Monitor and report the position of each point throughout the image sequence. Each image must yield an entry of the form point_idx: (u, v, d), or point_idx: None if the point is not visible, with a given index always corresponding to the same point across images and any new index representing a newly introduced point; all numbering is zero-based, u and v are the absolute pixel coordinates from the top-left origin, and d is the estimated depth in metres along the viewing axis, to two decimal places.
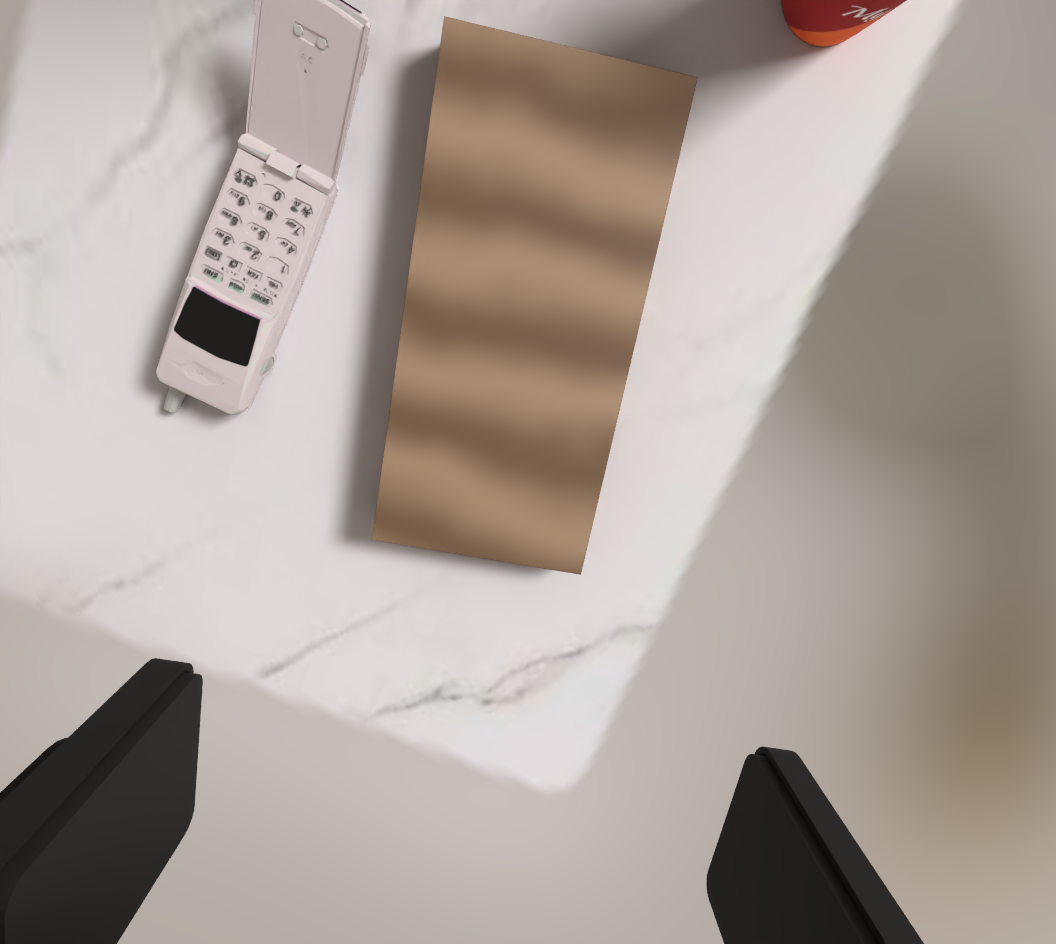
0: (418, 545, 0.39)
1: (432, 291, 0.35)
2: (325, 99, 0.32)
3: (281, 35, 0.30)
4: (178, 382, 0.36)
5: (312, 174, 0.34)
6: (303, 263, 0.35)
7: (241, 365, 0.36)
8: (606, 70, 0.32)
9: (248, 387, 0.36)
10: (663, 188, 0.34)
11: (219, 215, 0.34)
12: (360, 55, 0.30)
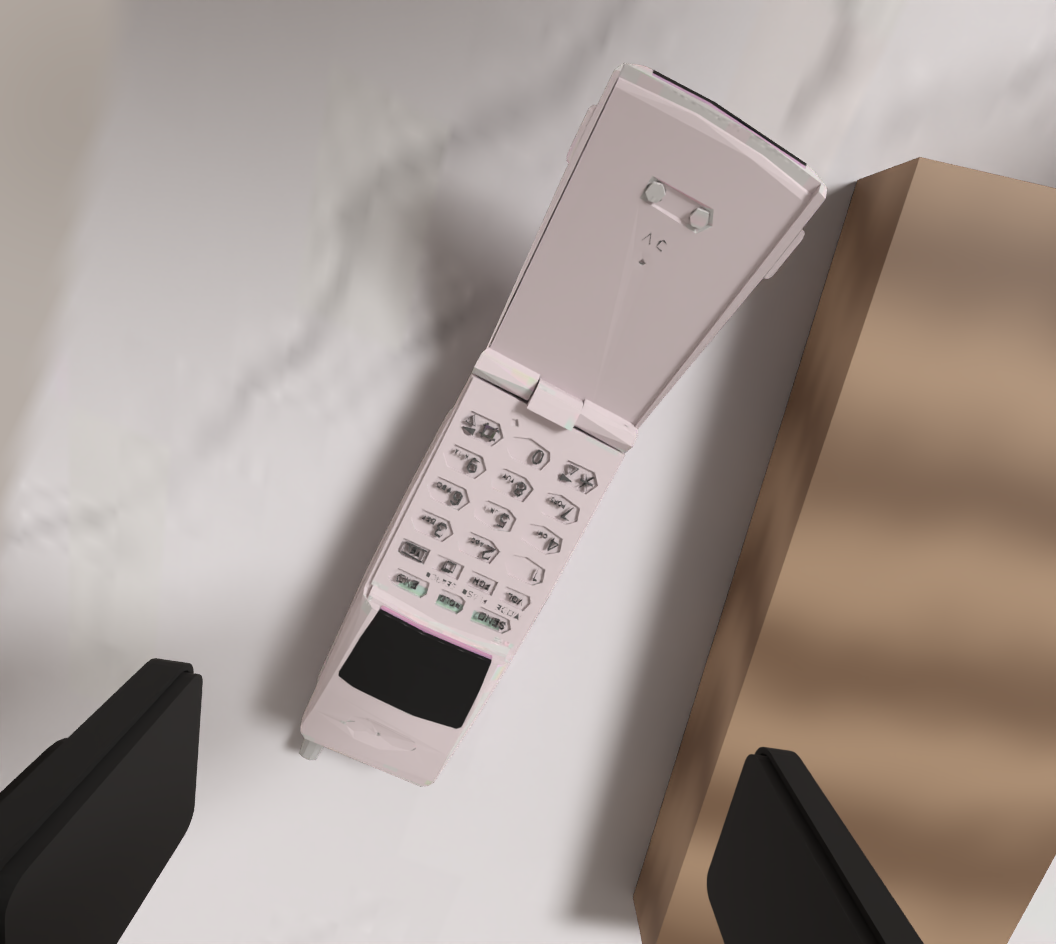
0: None
1: (809, 622, 0.20)
2: (667, 309, 0.16)
3: (613, 199, 0.15)
4: (336, 743, 0.21)
5: (602, 420, 0.18)
6: (567, 561, 0.20)
7: (450, 726, 0.21)
8: None
9: (454, 750, 0.21)
10: None
11: (429, 488, 0.19)
12: (776, 241, 0.15)
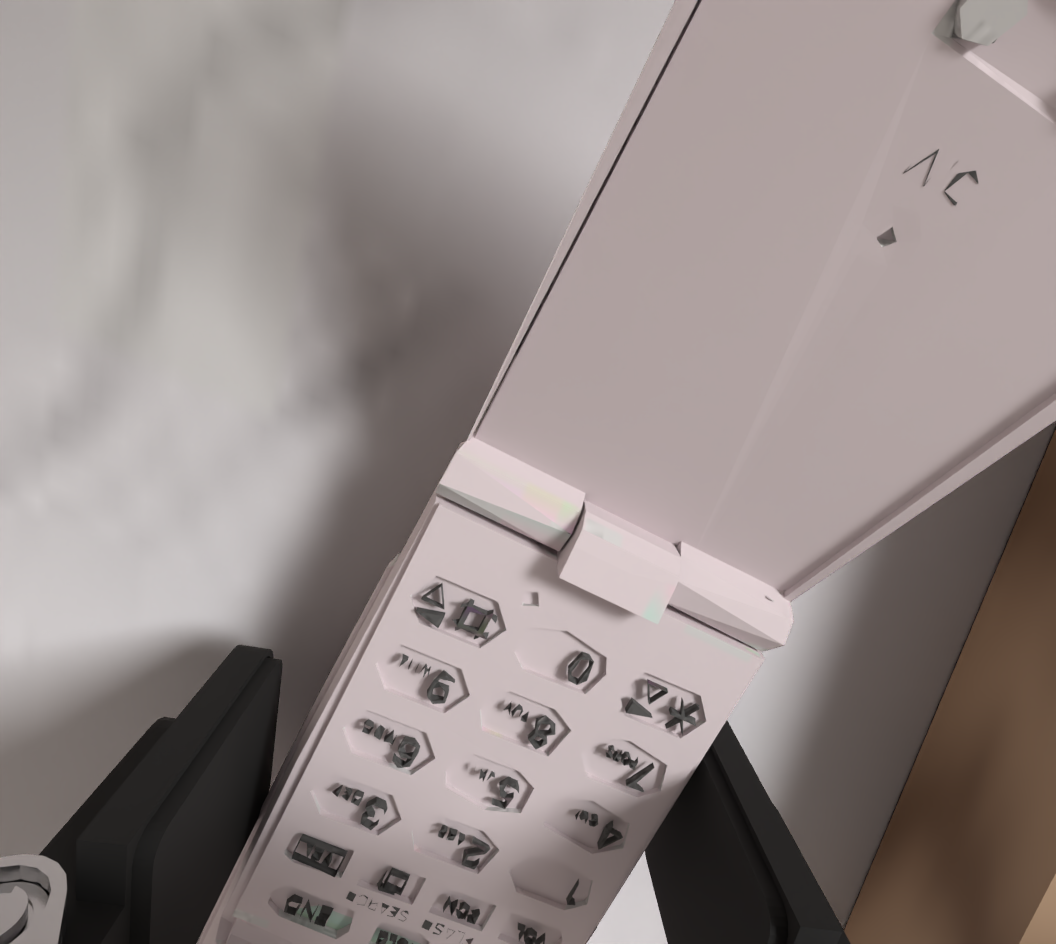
0: None
1: None
2: (926, 362, 0.06)
3: (841, 43, 0.05)
4: None
5: (721, 590, 0.09)
6: (635, 855, 0.10)
7: None
8: None
9: None
10: None
11: (348, 731, 0.09)
12: None
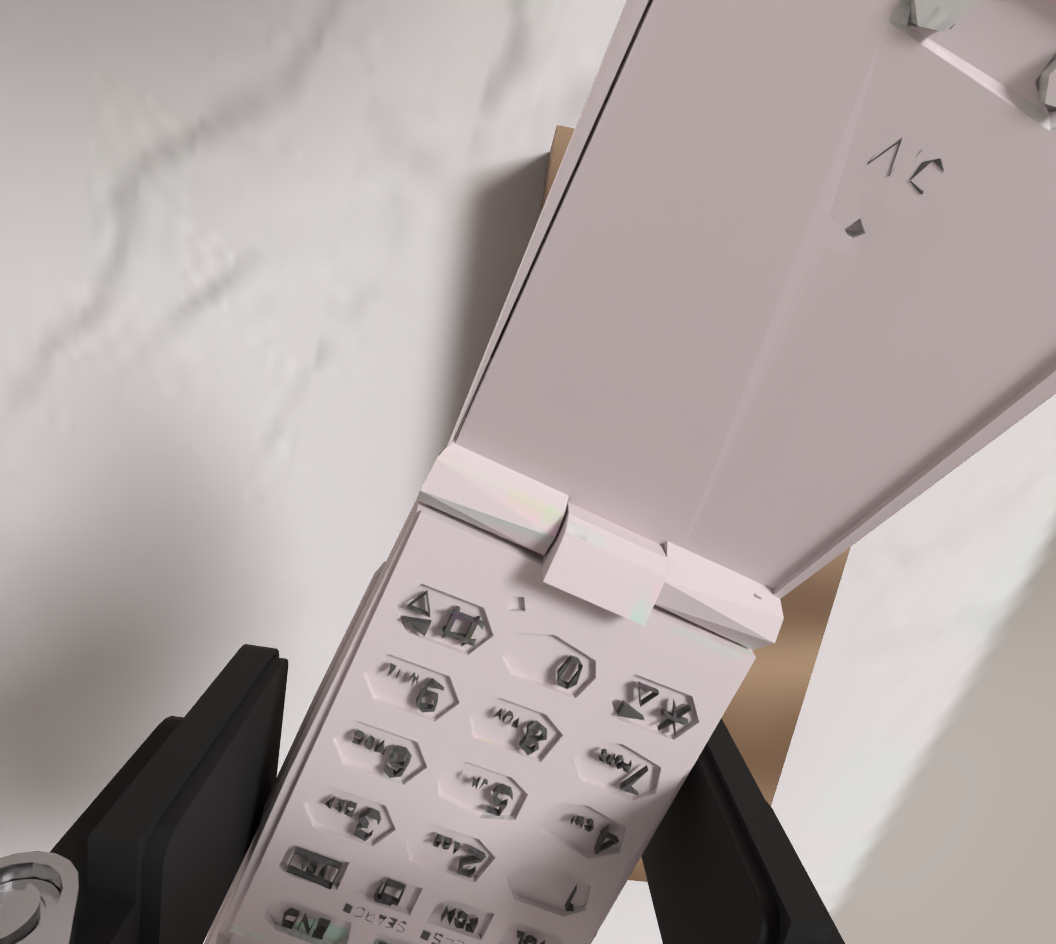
0: None
1: None
2: (902, 353, 0.06)
3: (797, 34, 0.05)
4: None
5: (708, 589, 0.08)
6: (633, 858, 0.10)
7: None
8: None
9: None
10: None
11: (339, 742, 0.09)
12: None
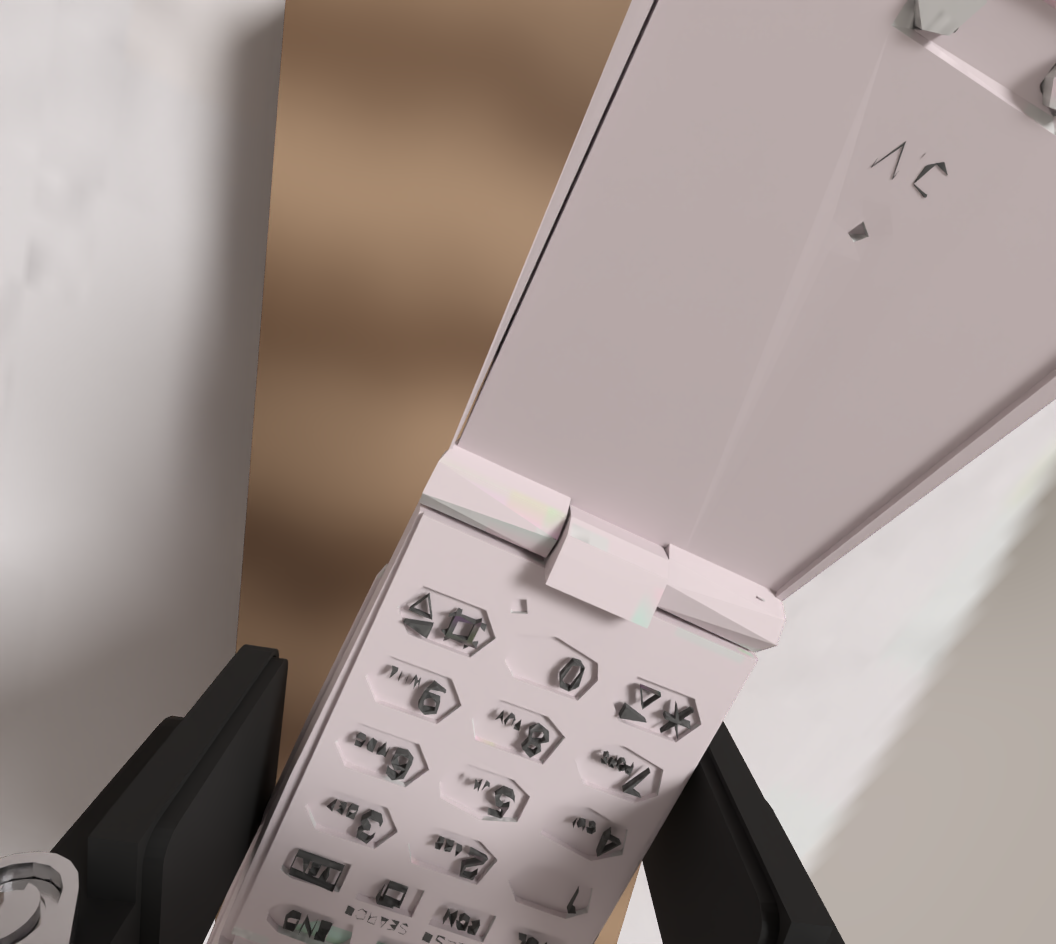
0: None
1: (302, 510, 0.17)
2: (906, 356, 0.06)
3: (801, 38, 0.05)
4: None
5: (711, 591, 0.08)
6: (635, 861, 0.10)
7: None
8: None
9: None
10: None
11: (341, 745, 0.09)
12: None
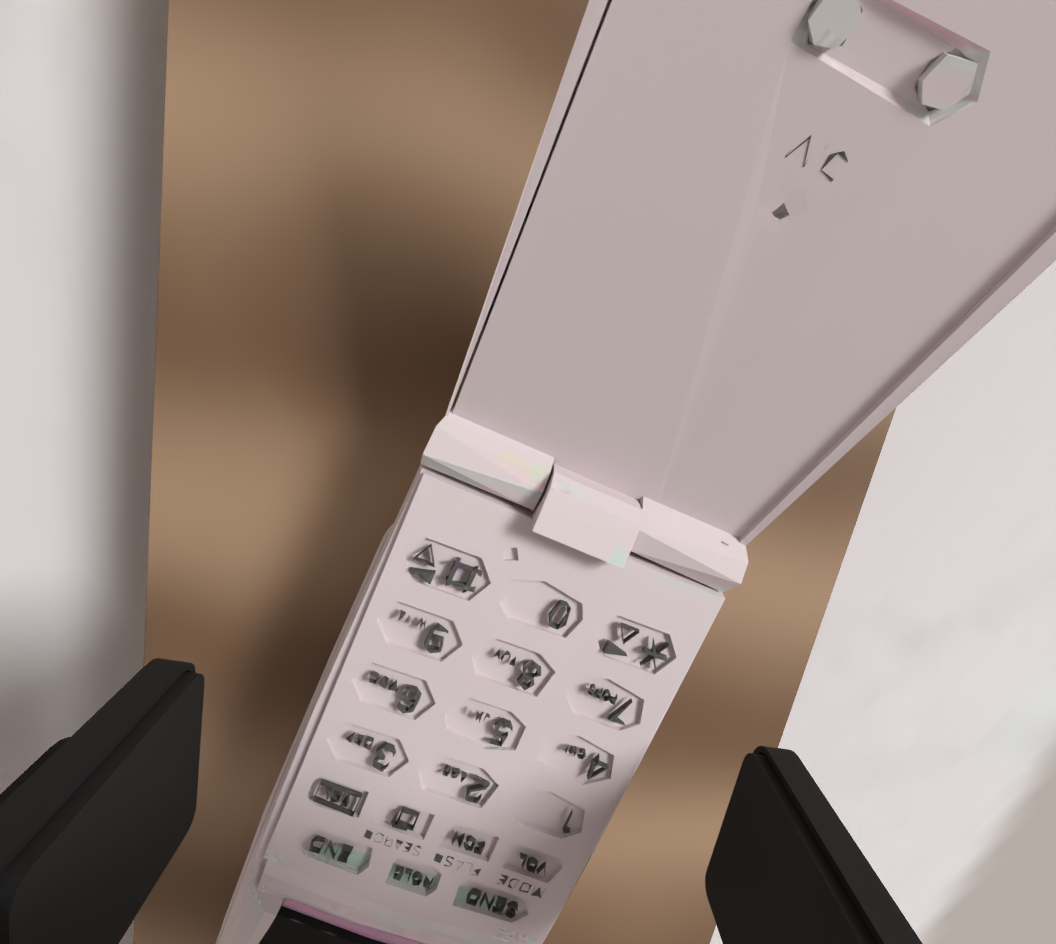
0: None
1: (223, 591, 0.12)
2: (831, 317, 0.07)
3: (718, 53, 0.06)
4: None
5: (680, 537, 0.10)
6: (623, 786, 0.11)
7: None
8: None
9: None
10: None
11: (357, 684, 0.10)
12: None
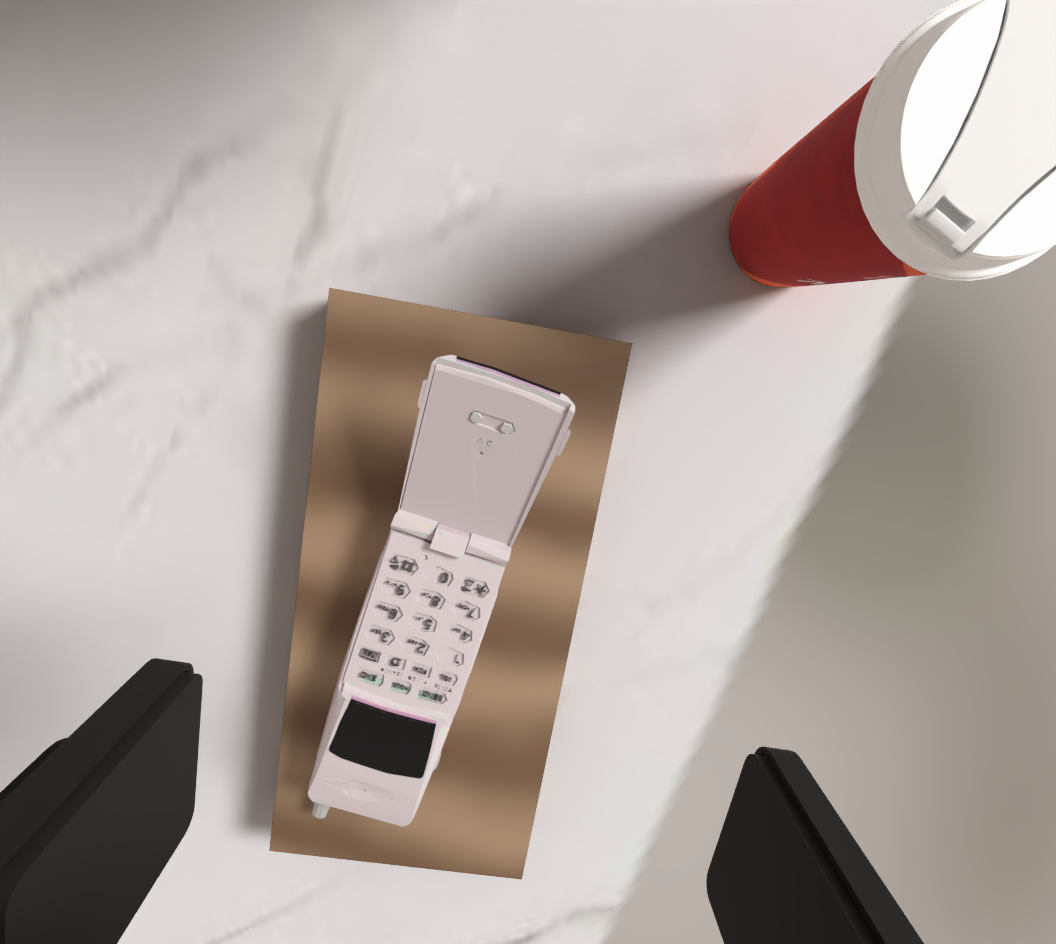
0: (325, 855, 0.32)
1: (329, 581, 0.29)
2: (505, 477, 0.25)
3: (452, 423, 0.23)
4: (336, 801, 0.29)
5: (485, 546, 0.27)
6: (479, 645, 0.28)
7: (414, 777, 0.28)
8: (524, 339, 0.27)
9: (422, 795, 0.29)
10: (598, 462, 0.29)
11: (374, 609, 0.27)
12: (557, 435, 0.23)
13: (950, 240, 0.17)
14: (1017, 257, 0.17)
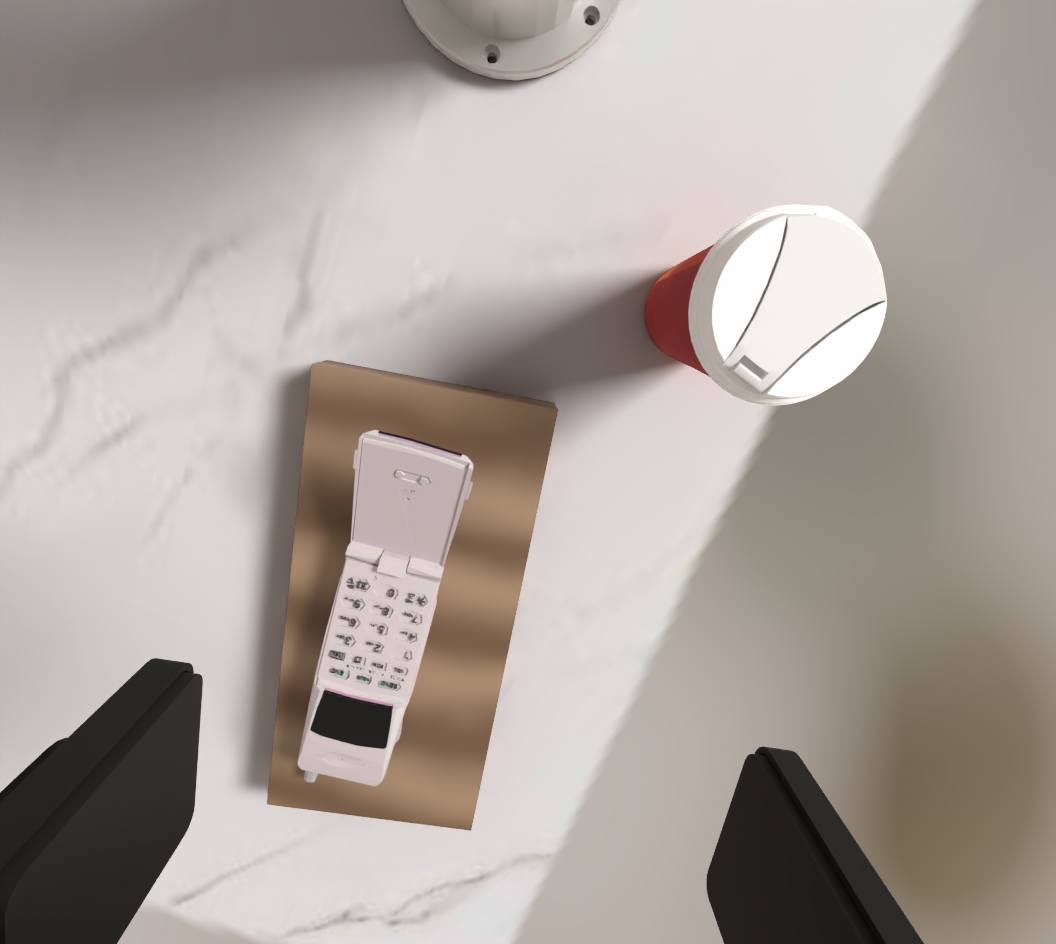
0: (312, 808, 0.40)
1: (313, 593, 0.36)
2: (429, 515, 0.31)
3: (382, 478, 0.30)
4: (320, 769, 0.36)
5: (421, 567, 0.34)
6: (424, 643, 0.35)
7: (379, 748, 0.36)
8: (469, 406, 0.34)
9: (388, 761, 0.36)
10: (530, 503, 0.35)
11: (337, 620, 0.34)
12: (463, 484, 0.30)
13: (751, 385, 0.23)
14: (801, 396, 0.23)
